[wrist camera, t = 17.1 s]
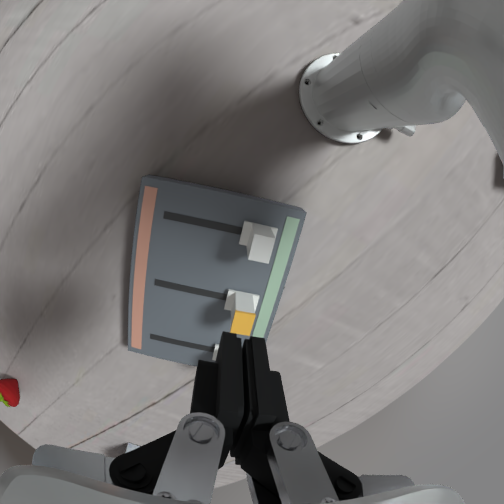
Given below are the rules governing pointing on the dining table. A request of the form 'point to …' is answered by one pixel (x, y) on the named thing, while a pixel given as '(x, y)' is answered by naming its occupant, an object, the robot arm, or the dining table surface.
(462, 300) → the dining table surface
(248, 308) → the block
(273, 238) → the block
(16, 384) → the strawberry
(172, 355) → the breaker panel
